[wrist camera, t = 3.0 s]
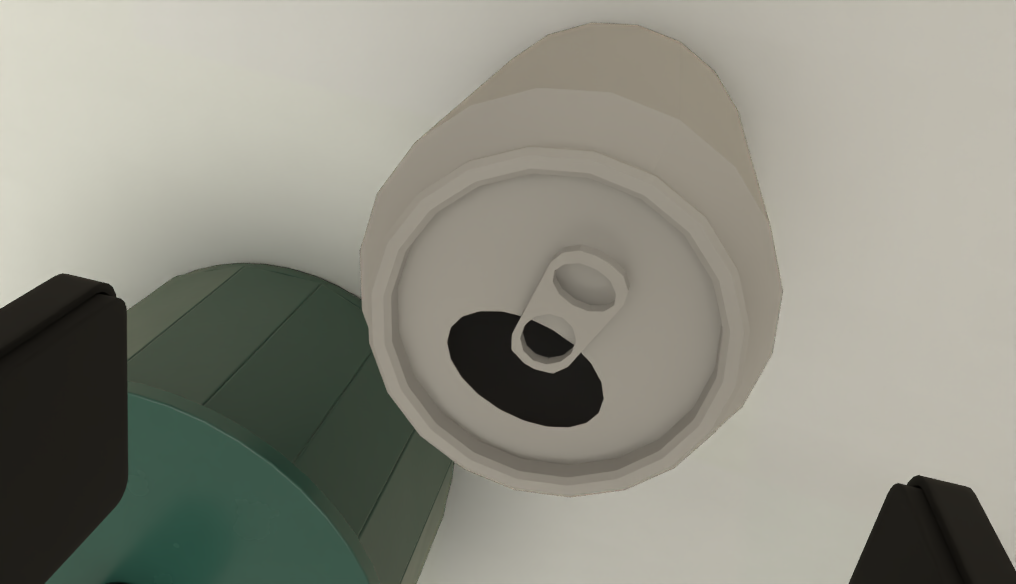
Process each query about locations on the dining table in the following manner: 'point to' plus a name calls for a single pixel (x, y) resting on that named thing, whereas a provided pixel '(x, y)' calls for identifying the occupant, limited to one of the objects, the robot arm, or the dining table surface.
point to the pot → (299, 395)
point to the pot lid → (213, 509)
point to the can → (575, 267)
